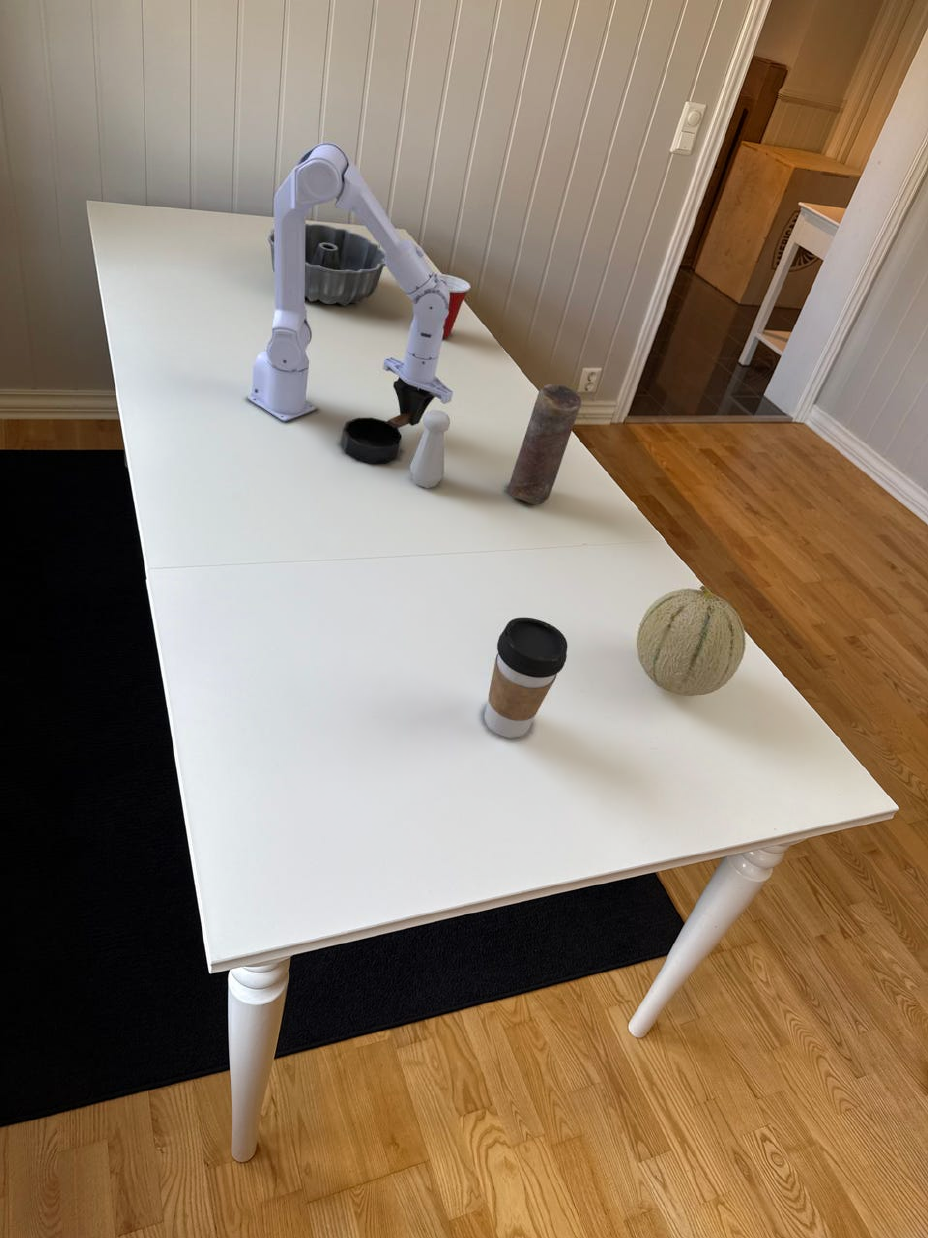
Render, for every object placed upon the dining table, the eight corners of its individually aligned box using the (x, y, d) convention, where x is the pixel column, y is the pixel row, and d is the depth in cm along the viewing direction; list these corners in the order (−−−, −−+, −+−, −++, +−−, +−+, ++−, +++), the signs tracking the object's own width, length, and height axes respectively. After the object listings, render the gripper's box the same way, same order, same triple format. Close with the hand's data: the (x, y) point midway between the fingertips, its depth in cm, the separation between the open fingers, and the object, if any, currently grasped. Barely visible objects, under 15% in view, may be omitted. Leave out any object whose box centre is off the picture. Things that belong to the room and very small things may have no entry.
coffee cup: (472, 693, 115) (498, 609, 105) (534, 699, 117) (565, 616, 107) (477, 743, 109) (505, 658, 99) (542, 748, 110) (576, 665, 101)
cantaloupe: (656, 725, 118) (698, 645, 108) (603, 649, 127) (638, 570, 117) (741, 707, 124) (788, 631, 114) (685, 637, 133) (724, 560, 123)
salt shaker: (436, 494, 148) (451, 427, 140) (404, 485, 148) (416, 417, 140) (444, 477, 153) (459, 411, 144) (412, 468, 153) (425, 401, 144)
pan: (372, 470, 150) (375, 451, 147) (330, 443, 153) (332, 424, 151) (435, 440, 161) (438, 422, 159) (394, 416, 165) (397, 398, 162)
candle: (553, 494, 156) (586, 393, 143) (542, 514, 150) (576, 410, 137) (514, 479, 157) (543, 377, 144) (501, 498, 151) (530, 394, 138)
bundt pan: (403, 298, 207) (410, 256, 200) (332, 325, 188) (337, 279, 182) (317, 257, 215) (321, 215, 208) (240, 279, 196) (242, 233, 190)
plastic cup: (451, 323, 202) (462, 271, 194) (466, 345, 195) (477, 292, 187) (407, 320, 198) (415, 267, 190) (419, 342, 191) (429, 288, 183)
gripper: (469, 363, 152) (453, 432, 160) (405, 329, 157) (394, 397, 166) (444, 373, 147) (429, 443, 156) (379, 338, 152) (369, 407, 161)
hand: (409, 420), depth 160 cm, fingers closed on pan, 2 cm apart
